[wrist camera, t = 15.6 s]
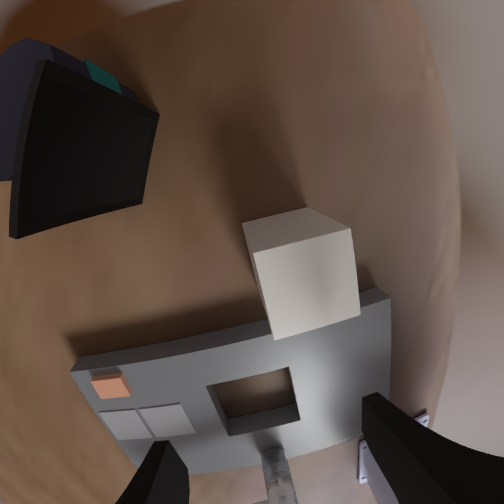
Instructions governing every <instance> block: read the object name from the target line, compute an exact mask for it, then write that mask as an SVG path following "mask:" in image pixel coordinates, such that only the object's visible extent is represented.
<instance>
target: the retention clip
mask: <svg viewBox="0 0 504 504" xmlns="http://www.w3.org/2000/svg"><path fill="white" fill-rule="evenodd" d="M261 461H262V467H263V473H264V479H265V485H266V491H267V496H268V500H264V501H261V502H257V503H254V504H298V501H297V497H296V493H295V489H294V485H293V481H292V477H291V473H290V469H289V465H288V461H287V456H286V452H285V450H283V449H281V448H270V449H267V450H265V451H264V452H263V453H262V454H261Z"/></svg>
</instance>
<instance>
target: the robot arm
mask: <svg viewBox="0 0 504 504" xmlns="http://www.w3.org/2000/svg"><path fill="white" fill-rule="evenodd" d="M428 420H429V414H428V413H425V414H423V415H420V416H418V417H416V418H414V419H413V418H412V417H410V416H409V415H407V414H406V413H404V412H403V411H402V410H400V409H399V408H398V407H396V406H395V405H394V404H393V403H391V402H390V401H389V400H387V399H386V398H385V397H384V396H383V395H381V394H380V393H379V392H375V393H372V394H369V395H367V396H364V397H362V427H361V430H362V433H363V435H364V438H365V440H363V441H361V442H360V444H359V476H358V481H359V483H364V482H367V481H368V484H369V486H370V488H371V490H372V492H373V495H374V497H375V499H376V501H377V503H378V504H504V457H499V456H494V455H491V454H487V453H484V452H480V451H477V450H473V449H471V448H468V447H465V446H463V445H460V444H458V443H456V442H453V441H451V440H449V439H447V438H445V437H443V436H441V435H439V434H437V433H436V432H434V431H432V430H430V429H429V428H427V424H428ZM189 493H190V489H189V474H188V468H187V466H186V465H185V464H184V462H183V461H182V459H181V458H180V456H179V455H178V453H177V452H176V450H175V449H174V447H173V445H172V444H171V442H170V441H169V440H164V441H154V442H153V444H152V446H151V447H150V449H149V451H148V453H147V454H146V456H145V458H144V460H143V461H142V463H141V465H140V467H139V468H138V470H137V472H136V473H135V475H134V477H133V478H132V480H131V482H130V483H129V485H128V486H127V488H126V489H125V491H124V492H123V494H122V495H121V496H120V498H119V499H118V501H117V502H116V503H115V504H189Z"/></svg>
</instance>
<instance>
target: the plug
mask: <svg viewBox="0 0 504 504" xmlns="http://www.w3.org/2000/svg"><path fill="white" fill-rule="evenodd" d="M242 227H243V231H244V235H245V239H246V243H247V247H248V251H249V255H250V259H251V263H252V267H253V271H254V275H255V279H256V283H257V287H258V290H259V293H260V297H261V300H262V303H263V306H264V309H265V313H266V316H267V319H268V322H269V325H270V328H271V332H272V335H273V338H274V341H275V340H278V339H282V338H286V337H289V336H293V335H297V334H300V333H304V332H307V331H310V330H314V329H317V328H321V327H324V326H327V325H330V324H334V323H337V322H340V321H343V320H346V319H349V318H353V317H356V316H359V315H361V313H360V301H359V291H358V281H357V272H356V264H355V256H354V248H353V241H352V234H351V228H349V227H347V226H345V225H343V224H341V223H339V222H337V221H335V220H333V219H331V218H329V217H327V216H325V215H323V214H321V213H318V212H316V211H314V210H312V209H310V208H308V207H306V208H302V209H298V210H293V211H289V212H285V213H281V214H277V215H273V216H269V217H264V218H260V219H256V220H252V221H248V222H244V223H242Z"/></svg>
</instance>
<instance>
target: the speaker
mask: <svg viewBox="0 0 504 504" xmlns="http://www.w3.org/2000/svg"><path fill="white" fill-rule="evenodd" d="M84 61H85V63H84V62H82V61H80V60H78V59H76V58H75V57H73V56H71V55H69V54H67V53H65V52H63V51H61V50H60V49H58V48H56V47H54V46H52V45H50V44H46V43H43V42H39V41H36V40H32V39H29V38H25V39H23V40H20V41H18V42H16V43H14V44H12V45H11V46H10V47H9V48H8V49H7V50H6V51H5V52H4V53H3V54H2V56H0V181H11V180H12V186H11V199H10V217H9V237H12V238H15V239H19V238H22V237H25V236H29V235H32V234H35V233H38V232H41V231H44V230H48V229H51V228H54V227H58V226H61V225H64V224H68V223H71V222H75V221H78V220H82V219H85V218H89V217H93V216H96V215H100V214H104V213H108V212H111V211H115V210H119V209H123V208H127V207H131V206H135V205H139V204H142V201H143V195H144V189H145V183H146V178H147V172H148V167H149V162H150V157H151V152H152V147H153V142H154V137H155V133H156V129H157V124H158V120H159V116H160V114H158V113H156V112H154V111H152V110H150V109H149V108H147V107H145V106H143V105H141V104H139V103H138V101H137V98H136V96H135V93H134V91H132V90H130V89H129V88H127V87H125V86H124V85H122V84H120V83H119V82H117V79H116V77H114V76H113V75H111V74H110V73H108V72H106V71H105V70H103V69H101V68H100V67H98V66H97V65H95V64H93V63H92V62H90V61H88V60H87V59H85V60H84Z"/></svg>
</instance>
